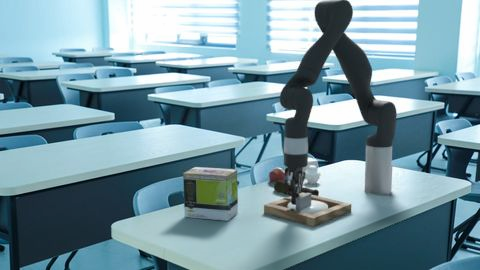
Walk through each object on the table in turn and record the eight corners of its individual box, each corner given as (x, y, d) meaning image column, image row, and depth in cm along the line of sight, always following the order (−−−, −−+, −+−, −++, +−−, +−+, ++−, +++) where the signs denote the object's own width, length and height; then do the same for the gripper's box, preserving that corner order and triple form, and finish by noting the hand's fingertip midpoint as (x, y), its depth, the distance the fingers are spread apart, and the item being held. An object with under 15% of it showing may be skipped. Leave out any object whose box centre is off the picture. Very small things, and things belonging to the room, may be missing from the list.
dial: (300, 202, 208) (300, 186, 207) (334, 208, 200) (335, 192, 199) (280, 211, 197) (280, 195, 196) (316, 218, 190) (316, 201, 189)
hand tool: (319, 200, 214) (319, 187, 213) (312, 202, 211) (312, 189, 210) (279, 189, 227) (279, 177, 227) (271, 191, 225) (272, 179, 224)
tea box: (238, 212, 199) (238, 168, 197) (227, 222, 190) (227, 175, 187) (195, 208, 204) (195, 165, 202) (183, 217, 195) (182, 172, 192)
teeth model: (303, 165, 237) (279, 170, 230) (304, 181, 238) (280, 186, 231) (289, 162, 244) (266, 167, 237) (290, 178, 245) (266, 183, 238)
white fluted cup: (302, 183, 234) (302, 166, 233) (306, 180, 240) (307, 162, 239) (318, 185, 232) (318, 167, 231) (322, 181, 237) (322, 163, 236)
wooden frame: (302, 200, 213) (302, 191, 212) (351, 212, 199) (351, 203, 199) (263, 213, 199) (263, 203, 198) (313, 227, 185) (313, 217, 184)
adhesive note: (304, 176, 246) (304, 161, 245) (297, 173, 251) (297, 158, 250) (317, 174, 248) (317, 160, 247) (310, 171, 254) (310, 157, 252)
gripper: (300, 156, 185) (299, 211, 188) (313, 147, 197) (313, 199, 200) (277, 154, 188) (276, 208, 191) (291, 145, 200) (291, 197, 203)
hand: (295, 203), depth 196 cm, fingers closed
